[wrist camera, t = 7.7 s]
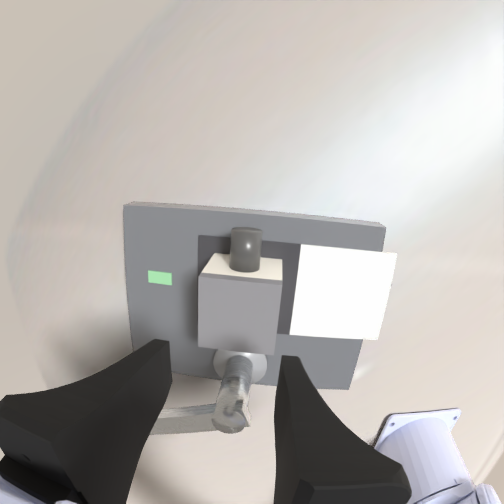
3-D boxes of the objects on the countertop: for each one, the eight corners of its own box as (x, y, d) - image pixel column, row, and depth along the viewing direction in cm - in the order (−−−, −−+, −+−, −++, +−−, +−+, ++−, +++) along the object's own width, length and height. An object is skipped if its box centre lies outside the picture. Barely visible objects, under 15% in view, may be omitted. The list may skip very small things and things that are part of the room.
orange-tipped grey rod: (249, 351, 20) (239, 407, 15) (258, 374, 21) (251, 432, 16) (91, 375, 23) (59, 417, 17) (102, 394, 23) (74, 437, 18)
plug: (275, 319, 20) (273, 355, 16) (212, 313, 20) (198, 346, 17) (285, 225, 18) (286, 243, 15) (216, 219, 19) (199, 235, 15)
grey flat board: (357, 377, 23) (362, 394, 21) (142, 354, 24) (132, 369, 22) (393, 224, 19) (404, 231, 17) (133, 201, 20) (119, 206, 18)
